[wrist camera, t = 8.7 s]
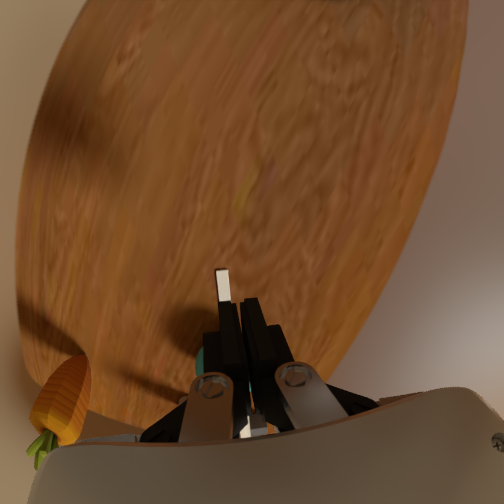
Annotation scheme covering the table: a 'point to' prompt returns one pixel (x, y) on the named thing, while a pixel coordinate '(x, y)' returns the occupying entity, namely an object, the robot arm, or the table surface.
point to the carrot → (61, 407)
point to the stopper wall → (257, 425)
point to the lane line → (223, 285)
